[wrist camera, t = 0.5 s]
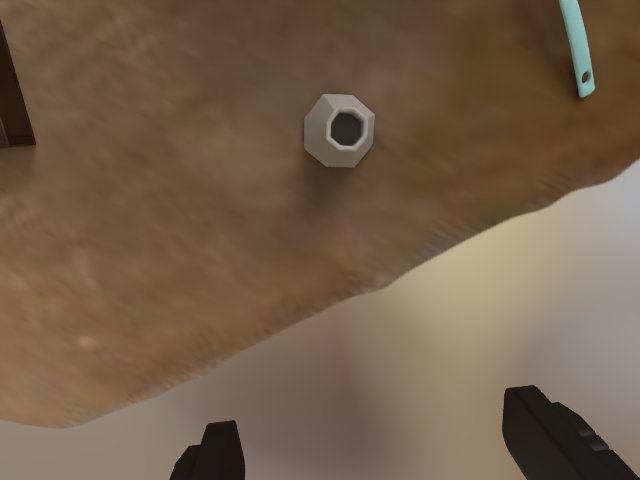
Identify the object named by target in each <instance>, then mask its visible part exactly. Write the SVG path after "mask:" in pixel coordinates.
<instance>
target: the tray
mask: <svg viewBox="0 0 640 480" xmlns="http://www.w3.org/2000/svg"><path fill="white" fill-rule="evenodd" d="M28 145H36V142H35V139H34V135H33V132H32V128H31V125H30V121H29V118H28V115H27V111H26V108H25V104H24V101H23V97H22V94H21V90H20V87H19V83H18V80H17V77H16V73H15V70H14V66H13V63H12V59H11V56H10V52H9V49H8V45H7V42H6V39H5V35H4V32H3V28H2V25H1V21H0V148H5V147H16V146H28Z"/></svg>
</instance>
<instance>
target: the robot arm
mask: <svg viewBox="0 0 640 480" xmlns="http://www.w3.org/2000/svg"><path fill="white" fill-rule="evenodd" d="M502 432H503V437H504V441H505V443H506V446H507V448H508V450H509V452H510V454H511V455H512V457H513V458H514V460H515V462H516V463H517V465H518V466H519V468H520V469H521V471H522V473H523V474H524V476H525V477H526V479H527V480H640V478H639V477H638V476H637V475H636V474H635V473H634V472H633V471H632V470H631V469H630V468H629V467H628V466H627V465H626V463H625V462H624V461H623V460H622V459H621V458H620V457H619V456H618V455H617V454H616V453H615V452H614V451H613V450H610V449H609V446H608V445H607V444H606V443H605V442H604V440H603V439H601V437H599V435H596V433H595V431H594V430H593V429H592V428H591V427H590V426H589V425H588V424H587V423H586V422H585V421H584V420H583V419H582V417H581V416H580V415H578V414H577V413H575V412H573V411H572V410H570V409H569V408H567V407H565V406H564V405H563V404H561V403H559V402H555V403H551V402H550V401H549V400H548V399H547V398H546V396H545V395H544V394H543V393H542V392H541V391H540V390H539V389H538V388H537V387H536V386H534V385H530V386H522V387H513V388H507V389H506V390H505V394H504V409H503V423H502ZM170 480H245V462H244V456H243V451H242V447H241V443H240V438H239V434H238V430H237V425H236V422H235V421H234V420H232V421H224V422H216V423H209V424H208V425H207V426H206V429H205V432H204V435H203V438H202V441H201V445H193V446H189V447H188V448H187V450H186V451H185V452H184V453H183V454H182V456H181V457H180V458H179V460H178V461H177V462H176V464H175V466H174V469H173V472H172V474H171V477H170Z"/></svg>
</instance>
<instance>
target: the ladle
mask: <svg viewBox="0 0 640 480" xmlns="http://www.w3.org/2000/svg"><path fill="white" fill-rule="evenodd" d="M558 1H559V4H560V8H561V11H562V15H563V19H564V23H565V27H566V31H567V35H568V40H569V44H570V48H571V53H572V59H573V64H574V69H575V75H576V80H577V86H578V92H579V97H585V96H587V95H589V94H590V93H591V92H593V90H594V89H595V86H594V79H593V74H592V66H591V60H590V54H589V48H588V42H587V37H586V33H585V29H584V25H583V20H582V16H581V12H580V8H579V5H578V2H577V0H558ZM585 72H587V73H588V79H587V81H586V82H585V83H584V84H583V83H582V81H581V78H582V75H583V74H584V73H585Z"/></svg>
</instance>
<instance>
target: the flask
mask: <svg viewBox="0 0 640 480" xmlns="http://www.w3.org/2000/svg"><path fill="white" fill-rule="evenodd" d="M374 119H375V114H373V113H372V112H371V111H370V110H369V109H368V108H367V107H366V106H364V105H363V104H362V103H361V102H360V101H359V100H358V99H356V98H355V97H354V96H353V95H339V94H322V96H321V97H320V98H319V100H318V101H317V102H316V104H315V105H314V106H313V108H312V109H311V110H310V112H309V113H308V114H307V116H306V117H305V119H304V149H305V150H306V151H308V152H309V153H310V154H311V155H312V156H314V157H315V158H316V159H317V160H319V161H320V162H321V163H322V164H323V165H325V166H326V167H350V168H354V167H355V166H356V165H357V164H358V162H359V161H360V160H361V159H362V157H363V156H364V155H365V154H366V152H367V151H368V150H369V149H370V148H371V146H372V145H373V133H374Z"/></svg>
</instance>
